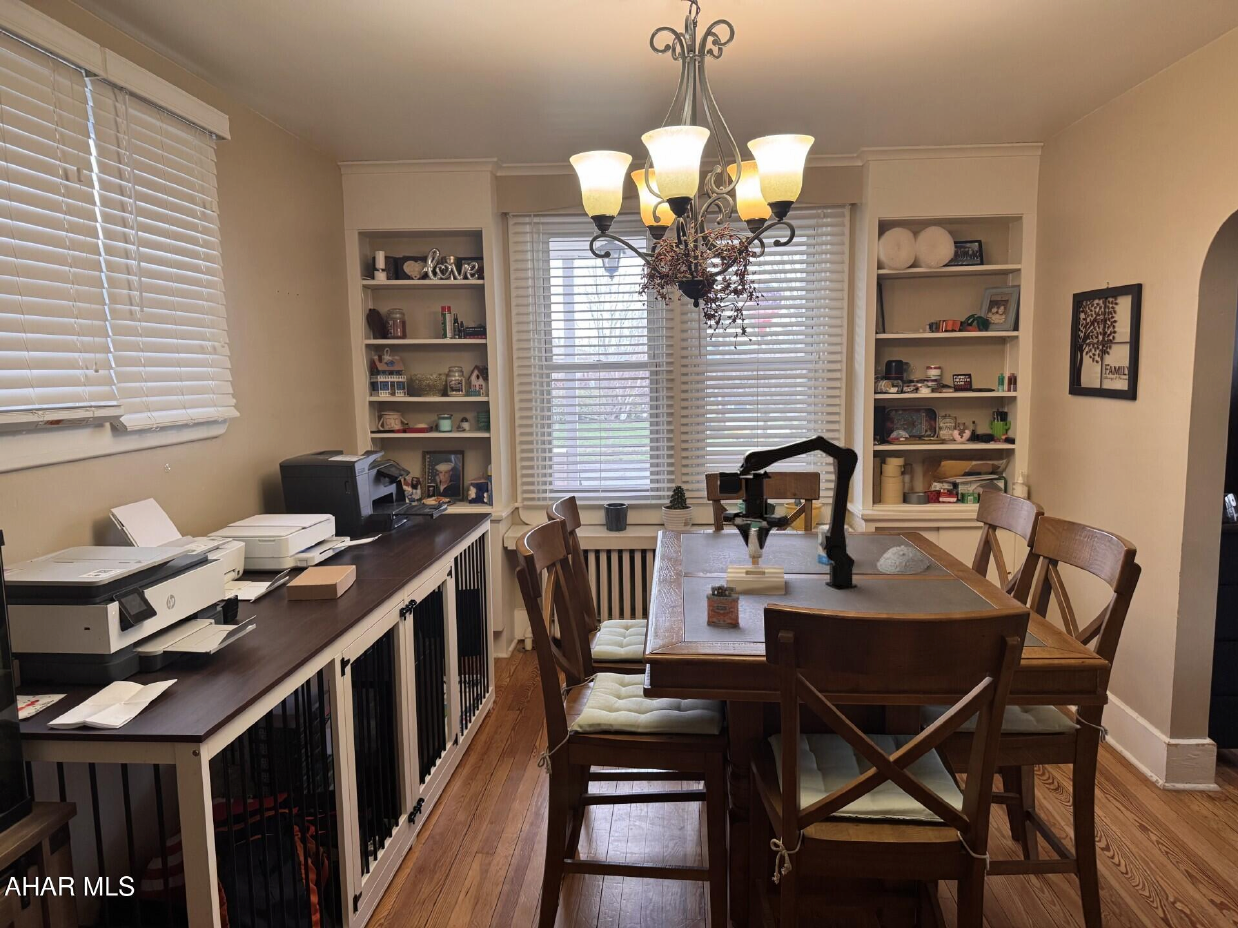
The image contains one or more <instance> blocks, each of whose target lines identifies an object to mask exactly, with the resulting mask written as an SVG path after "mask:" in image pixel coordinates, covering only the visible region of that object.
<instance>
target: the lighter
mask: <svg viewBox="0 0 1238 928" xmlns="http://www.w3.org/2000/svg"><path fill="white" fill-rule="evenodd" d="M710 591H711V593H707V594H706V595H705V596H706V607H707V608H706V610H707V611H706V612H707V613H706V616H707V620H706V626H708V627H713V628H720V629H721V628H722V629H739V628H740V624H741V623H740V622H739V621H740V615H739V614H740V610H739V604H740V603H739V601H740V596H739V595H738V594H731V592H736V587H735V586H726V585H725V584H719V585H711V586H710ZM726 592H728V594H727V593H726Z"/></svg>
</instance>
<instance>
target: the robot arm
mask: <svg viewBox="0 0 1238 928" xmlns="http://www.w3.org/2000/svg"><path fill="white" fill-rule="evenodd" d="M816 451H820V452H821V453H823V454H825V455H826V456H828V457H830V458H832V468H833V474H834V482H833V483H834V484H833V490H832V491H833V492H832V499H831V500H832V501H831V507H830V508H831V509H830V516H829V524H828V525H829V528H828V530H827V532H821V536H822V540H821V543H820V546H821V547H822V551H823V553H824V554H825V555H826V556H827V557H828V559H829V560H830V561H831V562H832V563H830V565H829V581H827V582H825V585H827V586H828V587H832V588H835V589H836V590H843V589H850V588H856V587H858V584H856V583H853V582H854V581H853V577H854V576H853V567H854V565H855V560H854V559H853V557H852V556H851V555H850V554H849V552H848V553H847V550H846V538H845V532H844V527H845V526H846V525H845V524H846V518H847V517H846V516H847V510H848V509H847V508H848V500H849V493H850V486H851V485H850V483H851V480H852V477H853V475H854V473H855V471H856V468H857V463H858V461H859V456H858V453H857V452H856V450H854V449H852V448H851V447H848V446H843V445H842V446H839V445H837V444H835V443H833V442H831V441H829V440H828V439H826V438H825V437H824V436H822V435H817V434H816V435H813V436H812V437H809V438H805V439H800V440H798V441H794V442H791V443H788V444H787V443H786V444H783V445H779V446H776V447H769V448H757V449H756V448H755V449H754V448H753V449H750V450H747V451H746V452H745V453H744V455H743V459H742V463H741V464H740V466H739V467H738V469H737V470H736V471H724V470H719V471H718V481H717V491H718V496H738V495H739V493H741V492H743V490H744V498H743V497H742V498H741V502H742V503H744V512H743V510H735V509H731V510H727V511H724V512H723V514H722V515H721V516H722V517H721V520H722V523H728V524H731V523H733V521H734V523H733V525H732V526H733V527H735V528H736V530H738V532H739V534H740V536H741V537H742V540H743V542H744V545H745V546H746V549H748V529H751V526H752V524H753V522H754V523H761V526H758V527H757V528H758V532H759V544H760V549H761V550H762V549H763V550H764V548H765V546H766V543H767V540H768V537H769V534H770V532H771V531H772V530H773V529H774V528H775V529H776V528H777V529H779V528H780V529H781V528H783V527H787V526H789V525H790V518H789V517H788V515H786V514H779V513H775V512H776V505H775V504H774V503H771V502H769V499H768V497H767V496H766V493H765V490H766V489H765V480H767V479H768V480H769V479H772V478H773V477H772V475H770V474H769V473H768V471H767V469H766V468H768V467H770V466H772V465H774V464H775V463H777V462H779V461H784V460H786V459H787V460H788V459H791V458H795V457H799V456H801V455H805V454H809V453H812V452H816ZM760 471H761V472H760ZM743 480H744V481H743ZM743 487H744V488H743Z"/></svg>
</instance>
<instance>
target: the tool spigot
mask: <svg viewBox="0 0 1238 928" xmlns="http://www.w3.org/2000/svg"><path fill="white" fill-rule="evenodd" d="M747 549H748V550H747V551H748V552H747V553H748V559H751V560H752V559H759V560H760V559H762V558H763V557H764V556H763V555H764V554H763V550H764V549H762V550H761V549H760V544H759V532H758V527H755V528H753V527H752V528H751V527H750V529H748V548H747Z"/></svg>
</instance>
